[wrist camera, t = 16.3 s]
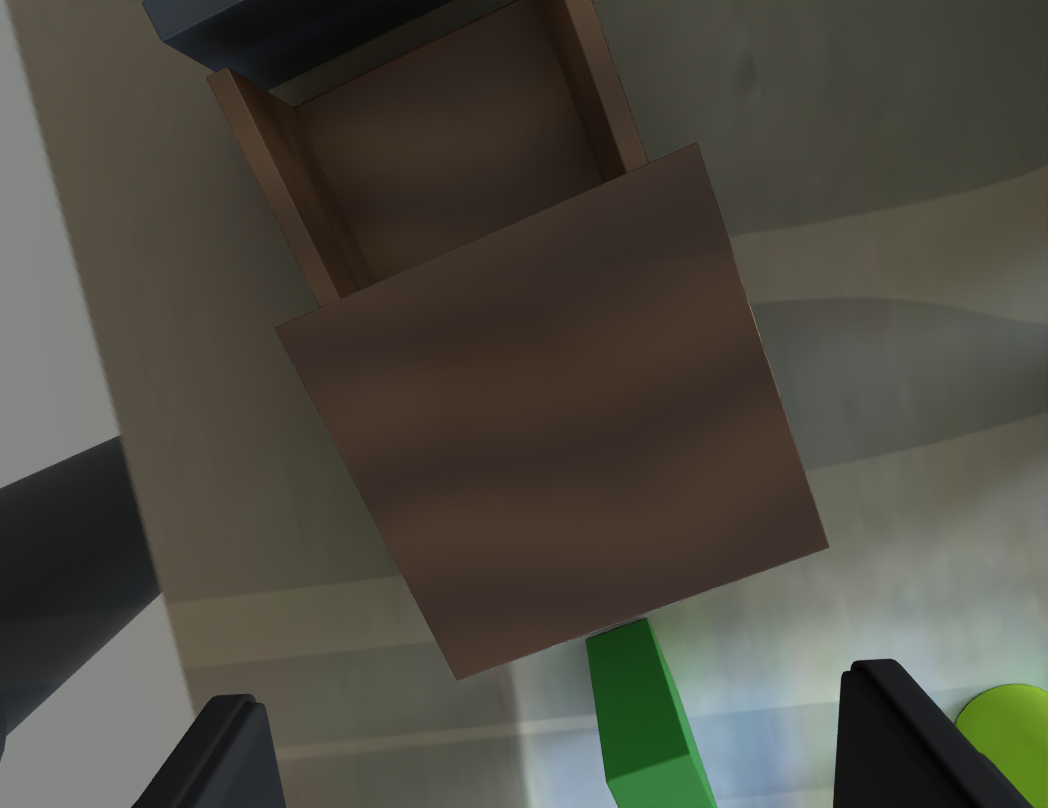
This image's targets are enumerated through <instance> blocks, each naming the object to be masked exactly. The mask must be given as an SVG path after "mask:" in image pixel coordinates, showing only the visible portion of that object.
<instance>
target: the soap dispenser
mask: <svg viewBox="0 0 1048 808" xmlns="http://www.w3.org/2000/svg"><path fill="white" fill-rule="evenodd" d="M955 726H956V727H957V728H958V729H959V731H960V732H961V733H962V734H963V735H964V736H965V737H966V738H967V739H968V741H969V742H970V743H971V744H972V745H973V746H974V747H975V748H976V749H977V751H978V752H980V753H982V754H984V755H985V756H986V757H987V758H988V759H989V760H991V761H992V762H993V763H994V764H995V765H996V767H997V768H998V769H999V770H1000V771H1001V772H1002V773H1003V774H1004V775H1005V776H1006V778H1007V779H1008V780H1009V781H1010V782H1011V783H1012V784H1013V785H1014V786H1015V787H1016V789H1017V790H1018V791H1019V792H1020V793H1021V794H1022V795H1023V796H1024V797H1025V799H1026V800H1027V801H1028V802H1029V803H1030V804H1031V805H1032V806H1033V807H1034V808H1048V693H1047V692H1046V691H1044V690H1042V689H1040V688H1037V687H1034V686H1031V685H1025V684H1011V685H1004V686H1000V687H996V688H994V689H991V690H989V691H987V692H985V693H983V694H981V695H979V696H978V697H976V698H975V699H974V700H973V701H971V702H970V703H969V704H968V705H967V706H966V707H965V709H964V710H963V711H962V713H961V714H960V716H959V717H958V719H957V722H956V724H955Z"/></svg>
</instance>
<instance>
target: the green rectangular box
mask: <svg viewBox="0 0 1048 808" xmlns="http://www.w3.org/2000/svg"><path fill="white" fill-rule="evenodd" d="M586 645H587V652H588V659H589V666H590V673H591V680H592V687H593V694H594V700H595V707H596V714H597V721H598V728H599V735H600V742H601V749H602V756H603V763H604V770H605V777H606V782H607V784H608V787H609V789H610V791H611V793H612V795H613V797H614V799H615V801H616V804H617V806H618V808H717V805H716V802H715V799H714V796H713V793H712V790H711V787H710V784H709V781H708V778H707V775H706V772H705V769H704V766H703V763H702V760H701V758H700V755H699V752H698V749H697V746H696V743H695V740H694V737H693V734H692V731H691V728H690V725H689V722H688V719H687V716H686V713H685V710H684V707H683V704H682V701H681V698H680V695H679V692H678V690H677V688H676V685H675V683H674V680H673V678H672V676H671V673H670V671H669V668H668V666H667V664H666V661H665V659H664V656H663V654H662V652H661V649H660V647H659V645H658V642H657V640H656V637H655V635H654V633H653V630H652V628H651V625H650V623H649V621H648V619H647V618H646V619H643V620H640V621H637V622H634V623H632V624H629V625H626V626H623V627H620V628H618V629H615V630H612V631H609V632H606V633H604V634H601V635H598V636H595V637H592V638H590V639H587V640H586Z"/></svg>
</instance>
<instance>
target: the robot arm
mask: <svg viewBox="0 0 1048 808" xmlns="http://www.w3.org/2000/svg"><path fill="white" fill-rule="evenodd" d="M131 808H286V804H285V799H284V795H283V790H282V785H281V780H280V775H279V770H278V765H277V761H276V756H275V751H274V746H273V741H272V736H271V731H270V726H269V722H268V717H267V712H266V708H265V706H264V704H263V703H256V700H255V698H254V696H253V695H251V694H236V695H217V696H215V697H212V698H211V699H210V700H209V702H208V703H207V704H206V705H205V707H204V708H203V710H202V711H201V712H200V714H199V715H198V717H197V718H196V719H195V721H194V722H193V724H192V725H191V726H190V728H189V729H188V731H187V732H186V733H185V735H184V736H183V738H182V739H181V740H180V742H179V743H178V745H177V746H176V748H175V749H174V750H173V752H172V753H171V754H170V756H169V757H168V759H167V760H166V761H165V763H164V764H163V765H162V767H161V768H160V770H159V771H158V773H157V774H156V775H155V777H154V778H153V779H152V781H151V782H150V784H149V785H148V787H147V788H146V789H145V791H144V792H143V793H142V795H141V796H140V798H139V799H138V800H137V801H136V802H135V803H134V805H133V806H132V807H131ZM833 808H1034V807H1033V806H1032V805H1031V804H1030V803H1029V802H1028V801H1027V800H1026V799H1025V797H1024V796H1023V795H1022V794H1021V793H1020V792H1019V791H1018V790H1017V789H1016V787H1015V786H1014V785H1013V784H1012V783H1011V782H1010V781H1009V780H1008V779H1007V778H1006V776H1005V775H1004V774H1003V773H1002V772H1001V771H1000V770H999V769H998V768H997V767H996V765H995V764H994V763H993V762H992V761H991V760H989V759H988V758H987V757H986V756H985V755H984V754H982V753H980V752H978V751H977V749H976V748H975V747H974V746H973V745H972V744H971V743H970V742H969V741H968V739H967V738H966V737H965V736H964V735H963V734H962V733H961V732H960V731H959V729H958V728H957V727H956V726H955V725H954V724H953V723H952V722H951V720H950V719H949V718H948V717H947V716H946V715H945V714H944V713H943V712H942V710H941V709H940V708H939V707H938V706H937V705H936V704H935V703H934V702H933V700H932V699H931V698H930V697H929V696H928V695H927V694H926V693H925V691H924V690H923V689H922V688H921V687H920V686H919V685H918V684H917V683H916V681H915V680H914V679H913V678H912V677H911V676H910V675H909V674H908V673H907V671H906V670H905V669H904V668H903V667H902V666H901V665H900V664H899V663H898V662H897V661H896V660H893V659H876V660H858V661H854V662H853V664H852V665H851V670H850V671H845V672H843V674H842V677H841V688H840V704H839V720H838V735H837V751H836V767H835V783H834V799H833Z"/></svg>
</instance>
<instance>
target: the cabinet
mask: <svg viewBox="0 0 1048 808" xmlns="http://www.w3.org/2000/svg"><path fill="white" fill-rule="evenodd" d="M275 330H276V332H277V334H278V336H279V338H280V340H281V342H282V343H283V345H284V347H285V349H286V351H287V353H288V355H289V357H290V359H291V361H292V363H293V365H294V367H295V369H296V371H297V372H298V374H299V376H300V378H301V380H302V382H303V384H304V386H305V388H306V390H307V392H308V394H309V396H310V398H311V400H312V401H313V403H314V405H315V407H316V409H317V411H318V413H319V415H320V417H321V419H322V421H323V423H324V425H325V427H326V429H327V430H328V432H329V434H330V436H331V438H332V440H333V442H334V444H335V446H336V448H337V450H338V452H339V454H340V456H341V458H342V459H343V461H344V463H345V465H346V467H347V469H348V471H349V473H350V475H351V477H352V479H353V481H354V483H355V485H356V487H357V488H358V490H359V492H360V494H361V496H362V498H363V500H364V502H365V504H366V506H367V508H368V510H369V512H370V514H371V515H372V517H373V519H374V521H375V523H376V525H377V527H378V529H379V531H380V533H381V535H382V537H383V539H384V541H385V543H386V544H387V546H388V548H389V550H390V552H391V554H392V556H393V558H394V560H395V562H396V564H397V566H398V568H399V570H400V572H401V573H402V575H403V577H404V579H405V581H406V583H407V585H408V587H409V589H410V591H411V593H412V595H413V597H414V599H415V601H416V602H417V604H418V606H419V608H420V610H421V612H422V614H423V616H424V618H425V620H426V622H427V624H428V626H429V628H430V630H431V631H432V633H433V635H434V637H435V639H436V641H437V643H438V645H439V647H440V649H441V651H442V653H443V655H444V657H445V659H446V660H447V662H448V664H449V666H450V668H451V670H452V672H453V674H454V676H455V678H456V680H457V681H459V680H462V679H464V678H467V677H470V676H473V675H476V674H478V673H481V672H484V671H487V670H490V669H492V668H495V667H498V666H501V665H504V664H506V663H509V662H512V661H515V660H517V659H520V658H523V657H526V656H529V655H531V654H534V653H537V652H540V651H543V650H545V649H548V648H551V647H554V646H557V645H559V644H562V643H565V642H568V641H570V640H573V639H576V638H579V637H582V636H584V635H587V634H590V633H593V632H596V631H598V630H601V629H604V628H607V627H610V626H612V625H615V624H618V623H621V622H623V621H626V620H629V619H632V618H635V617H637V616H640V615H643V614H646V613H649V612H651V611H654V610H657V609H660V608H663V607H665V606H668V605H671V604H674V603H676V602H679V601H682V600H685V599H688V598H690V597H693V596H696V595H699V594H702V593H704V592H707V591H710V590H713V589H715V588H718V587H721V586H724V585H727V584H729V583H732V582H735V581H738V580H741V579H743V578H746V577H749V576H752V575H755V574H757V573H760V572H763V571H766V570H768V569H771V568H774V567H777V566H780V565H782V564H785V563H788V562H791V561H794V560H796V559H799V558H802V557H805V556H808V555H810V554H813V553H816V552H819V551H821V550H824V549H827V548H829V544H828V541H827V537H826V534H825V531H824V528H823V525H822V522H821V519H820V516H819V513H818V510H817V507H816V504H815V501H814V498H813V495H812V492H811V489H810V486H809V483H808V480H807V476H806V473H805V470H804V467H803V464H802V461H801V458H800V455H799V452H798V449H797V446H796V443H795V440H794V437H793V434H792V431H791V428H790V425H789V422H788V419H787V416H786V412H785V409H784V406H783V403H782V400H781V397H780V394H779V391H778V388H777V385H776V382H775V379H774V376H773V373H772V370H771V367H770V364H769V361H768V358H767V355H766V351H765V348H764V345H763V342H762V339H761V336H760V333H759V330H758V327H757V324H756V321H755V318H754V315H753V312H752V309H751V306H750V303H749V300H748V297H747V294H746V291H745V287H744V284H743V281H742V278H741V275H740V272H739V269H738V266H737V263H736V260H735V257H734V254H733V251H732V248H731V245H730V242H729V239H728V236H727V233H726V230H725V226H724V223H723V220H722V217H721V214H720V211H719V208H718V205H717V202H716V199H715V196H714V193H713V190H712V187H711V184H710V181H709V178H708V175H707V172H706V169H705V166H704V162H703V159H702V156H701V153H700V150H699V147H698V144H697V143H694V144H691V145H689V146H687V147H685V148H682V149H680V150H678V151H676V152H673V153H671V154H669V155H666V156H664V157H662V158H660V159H657V160H655V161H653V162H650V163H648V164H646V165H644V166H641V167H639V168H637V169H635V170H632V171H630V172H628V173H625V174H623V175H621V176H619V177H616V178H614V179H612V180H609V181H607V182H605V183H603V184H600V185H598V186H596V187H594V188H591V189H589V190H587V191H584V192H582V193H580V194H578V195H575V196H573V197H571V198H569V199H566V200H564V201H562V202H559V203H557V204H555V205H553V206H550V207H548V208H546V209H543V210H541V211H539V212H537V213H534V214H532V215H530V216H528V217H525V218H523V219H521V220H518V221H516V222H514V223H512V224H509V225H507V226H505V227H503V228H500V229H498V230H496V231H493V232H491V233H489V234H487V235H484V236H482V237H480V238H477V239H475V240H473V241H471V242H468V243H466V244H464V245H462V246H459V247H457V248H455V249H452V250H450V251H448V252H446V253H443V254H441V255H439V256H436V257H434V258H432V259H430V260H427V261H425V262H423V263H421V264H418V265H416V266H414V267H411V268H409V269H407V270H405V271H402V272H400V273H398V274H396V275H393V276H391V277H389V278H386V279H384V280H382V281H380V282H377V283H375V284H373V285H370V286H368V287H366V288H364V289H361V290H359V291H357V292H355V293H352V294H350V295H348V296H345V297H343V298H341V299H339V300H336V301H334V302H332V303H329V304H327V305H325V306H323V307H320V308H318V309H316V310H314V311H311V312H309V313H307V314H304V315H302V316H300V317H298V318H295V319H293V320H291V321H289V322H286V323H284V324H282V325H279V326H277V327H275Z"/></svg>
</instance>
